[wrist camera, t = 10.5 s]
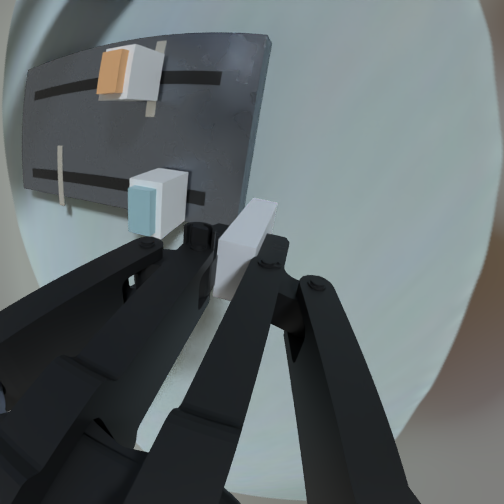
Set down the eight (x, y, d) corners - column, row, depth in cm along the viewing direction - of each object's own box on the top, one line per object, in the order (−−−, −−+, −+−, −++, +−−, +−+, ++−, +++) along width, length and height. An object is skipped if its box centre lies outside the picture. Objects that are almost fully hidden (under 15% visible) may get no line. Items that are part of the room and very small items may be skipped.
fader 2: (158, 167, 18) (123, 180, 14) (188, 172, 18) (156, 185, 14) (156, 214, 20) (123, 235, 16) (184, 220, 20) (155, 244, 16)
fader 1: (137, 56, 15) (99, 47, 11) (164, 54, 14) (129, 41, 11) (130, 101, 16) (91, 100, 13) (157, 100, 16) (119, 98, 12)
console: (40, 69, 18) (27, 70, 16) (272, 43, 15) (267, 34, 13) (36, 191, 25) (24, 196, 23) (240, 235, 22) (233, 245, 20)
